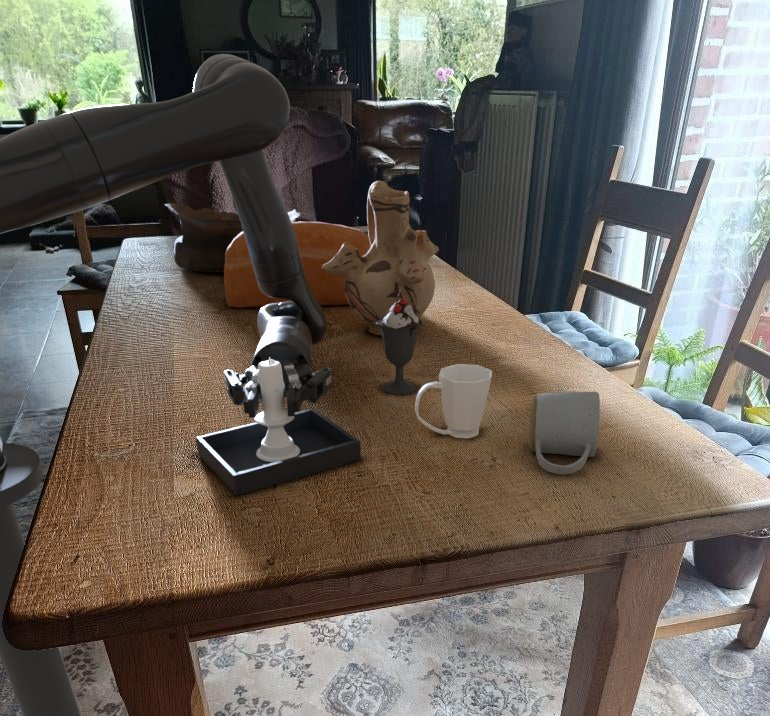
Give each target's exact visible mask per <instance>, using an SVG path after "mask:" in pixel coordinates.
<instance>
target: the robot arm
mask: <svg viewBox="0 0 770 716" xmlns="http://www.w3.org/2000/svg"><path fill="white" fill-rule="evenodd" d="M192 88H193V89H192V92H189V93H187V94H185V95H182V96H179V97H176V98H173V99H169V100H164V101H156V102H147V103H145V102H144V103H121V104H107V105H98V106H92V107H91V106H90V107H85V108H81V109H76V110H73V111H69V112H66V113H63V114H59V115H56V116H54V117H51V118H48V119H44V120H41V121H38V122H35V123H33V124H30V125H28V126H25V127H23V128H19V129H18V130H16V131H13V132H11V133H9V134H8V135H5V136H3V137H1V138H0V235H1V234H4V233H8V232H11V231H16V230H20V229H24V228H27V227H32V226H35V225H38V224H42V223H45V222H49V221H52V220H55V219H59V218H62V217H65V216H68V215H72V214H75V213H78V212H81V211H83V210H87V209H90V208H93V207H95V206H98V205H101V204H104V203H106V202H109V201H111V200H114V199H116V198H119V197H121V196H124V195H125V194H128V193H130V192H134V191H137V190H138V189H141V188H144V187H147V186H149V185H152V184H155V183H158V182H160V181H163V180H165V179H167V178H170V177H173V176H174V175H177V174H179V173H183V172H185V171H187V170H190V169H193V168H196V167H200V166H203V165H204V166H205V165H207V164H212V163H217V162H218V163H219V165H220V167H221V170H222V174H223V175H224V178H225V181H226V183H227V186H228V188H229V191H230V194H231V198H232V200H233V202H234V206H235V209H236V212H237V214H238V215H239V218H240V222H241V225H242V228H243V232H244V235H245V239H246V243H247V246H248V250H249V254H250V258H251V262H252V265H253V269H254V273H255V276H256V280H257V283H258V286H259V289H260V290H261V292H262V293H263V294H265V295H266V296H269V297H273V298H281V299H287V300H291V301H286V302H280V303H279V302H278V303H272V304H268V305H266V306H264V307H261V308H260V309H259V311H258V313H257V318H256V323H257V325H256V326H257V330H258V334H259V337H260V340H259V342H258V344H257V347H256V350H255V353H254V355H253V358H252V360H251V365H250V367H249V368H247V369H246V370H245V372H244V373H242V374H241V373H239V372H235V371H234V369H226V370H224V371H223V377H224V384H225V391H226V393H227V395H228V396H229V398H230V400H231V401H232V403H233V405H235V406H242V405H243V406H242V407H243V412H244V414H248V417H249V418H255V417H256V415H258V411H259V409H260V404H261V403H262V395H261V387H260V385H259V383H258V364H259V363H261V362H263V361H268V360H269V357H270V359H273V360H275V361H278V362H279V363H280V364H281V366H282V374H283V381H284V384H285V388H284V391H283V395H284V398H286V409H287V411H288V416H294V415H295V413H296V412H300V411H302V405H303V404H304V402H305V401H307V403H309V404H317V403H318V402H320V400H321V399H322V398H323V397H324V396H325V395H327V393H328V392H330V390H331V389H332V388H333V384H332V383H333V382H332V381H333V380H332V379H333V378H332V368H331V367H322V368H321V369H320V370H315V371H313V369H312V365H313V351H312V347H313V346H315V345H318V344H320V343H321V342H322V341H324V339H325V337H326V334H327V333H328V332H327V331H328V321H327V317H326V315H325V312H324V309H323V307H322V305H320V304H319V302H318V300H317V298H316V297H315V295H314V293H313V292H312V290H311V288H310V286H309V283H308V281H307V279H306V276H305V273H304V269H303V265H302V261H301V256H300V251H299V246H298V242H297V238H296V234H295V231H294V228H293V225H292V223H291V220H290V218H289V215H288V213H287V212H288V210H287V208H286V206H285V204H284V202H283V200H282V197H281V195H280V193H279V190H278V189H277V186H276V184H275V181H274V178H273V176H272V173H271V170H270V167H269V164H268V160H267V157H266V152H265V150H266V149H267V148H269V147H270V146H272V145H273V144H275V143H276V142H277V141H278V140H279V139H280V137H281V136H282V134H283V133H284V131H285V130H286V127H287V125H288V122H289V120H290V113H291V105H290V104H291V103H290V99H289V96H288V93H287V91H286V89H285V87H284V85H283V84H282V83H281V82H280V81H279V79H277V77H276V76H275V75H274V74H272V73H271V72H269V70H267V69H266V68H264V67H262V66H260V65H258V64H257V63H254V62H252V61H249V60H247V59H245V58H243V57H239V56H237V55H233V54H229V53H220V54H215V55H212V56H210V57H208V58H207V59H206V60H205V61H204V62H203V63H202V64H201V65H200V66H199V68H198V70H197V72H196V74H195V77H194V81H193V87H192ZM244 385H245V386H244ZM2 443H3V440H2V437H1V436H0V474H1V473H2V472H3V471H4V470H5V469H6V467H7V460H6V457H5V456H4V454H3V449H2V445H3V444H2Z"/></svg>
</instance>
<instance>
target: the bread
mask: <svg viewBox="0 0 770 716" xmlns="http://www.w3.org/2000/svg"><path fill="white" fill-rule="evenodd" d="M291 223H292V225H293V228H294V231H295V234H296V238H297V242H298V246H299V251H300V256H301V261H302V265H303V269H304V273H305V276H306V279H307V281H308V283H309V286H310V288H311V290H312V292H313V293H314V295H315V297H316V298H317V300H318V302H319V304H320V305H321V306H339V305H341V306H343V305H344V306H345V305H349V303H348V301H347V298H346V295H345V291H344V277H342V276H337V275H333V274H329V273H325V272H324V271H323V270H322V266H323V265H324V264H325V263H328V262H329V261H330V260H332V259H333V258H334V256H335V255H336V254H337V253H338V252H339V250H340V249H341V247H342V245H343V243H344V242H348V243H350V244H351V245H352V246H353V247H354V248H357V250H358V253H359V255H361V256H364V255H365V254H366V253H367V252H368V250H369V249H370V247H371V245H370V241H369V237H368V236H367V235H366V234H365V233H364V232H365V231H363V230H362V229H360V228H354V227H350V226H346V225H343V224H336V223H329V222H322V221H293V222H291ZM223 280H224V281H223V282H224V292H225V301H226V305H227V306H228V307H230V308H238V309H239V308H241V309H242V308H263V307H264V306H266V305H268V304H272V303H278V302H279V303H280V302H286V301H291V300H287V299H281V298H273V297H269V296H266V295H265V294H263V293H262V292H261V290H260V289H259V286H258V283H257V280H256V276H255V273H254V269H253V265H252V262H251V258H250V254H249V250H248V246H247V243H246V239H245V235H244V232H241V233H240V234H239V235H238V236H236V237H235V238H234V239H233V241H232V242H231V244H230V245H229V246H228V248H227V250H226V253H225V265H224V272H223Z"/></svg>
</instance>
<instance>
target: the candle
mask: <svg viewBox="0 0 770 716" xmlns="http://www.w3.org/2000/svg"><path fill="white" fill-rule="evenodd" d="M258 383H259V385H260V387H261V395H262V402H261V403H262V411H261V412H259V413H257V415H256V417H254V421H255V422H257V423H259V424H261V425H264V426H267V427H268V431H267V434H266V437H265V438H264V439H263V440H262V442H261V447H260V448H259V449H258V450H257V452H256V456H257V457H258V458H259V459H261V460H263V461H266V462H278V461H282V460H285V459H289V458H292V457H296V456H298V455H299V453H300V449H299V447H298V446H296V445H295V444H294V442H293V440H292V438H291V437H289V436H288V435H287V433H286V431H285V430H284V428H283V426H284V425H285V424H287V423H289V422H291V421H292V420H293V419H294V417H295V416H288V411H287V410H286V408H285V407H286V406H285V397H284V395H283V391H284V388H285V384H284V381H283V374H282V366H281V364H280V363H279V362H278V361H275V360H273V359H270V357H269V360H268V361H263V362H261V363H259V364H258Z"/></svg>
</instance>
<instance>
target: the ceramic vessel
mask: <svg viewBox="0 0 770 716" xmlns="http://www.w3.org/2000/svg"><path fill="white" fill-rule="evenodd" d="M410 200H411V199H410V192H409V191H408V190H406V191H405V190H398V189H393V188H392V187H389V185H388V183H386V182H385V181H383V180H376V181H374V182H372V183H371V185H370V186H369V189H368V191H367V201H366V221H367V231H368V235H369V241H370V245H371V247H370V249H369V250H368V252H367V253H366V254H365V255H364V256H361V255H359V253H358V250H357V248H354V247H353V246H352V245H351V244H350V243H348V242H344V243H343V245H342V247H341V249H340V250H339V252H338V253H337V254H336V255H335V256H334V258H333V259H332V260H330V261H329V262H328V263H325V264H324V265H323V266H322V270H323V271H324V272H325V273H329V274H333V275H337V276H342V277H344V291H345V295H346V298H347V301H348V303H349V304H348V305H349V307H350V308H351V310H352V312H353V313H354V314H355V315H356V316H357V318H360V319H362V320H363V321H365V322H367V323H368V332H369V333H371V334H372V335H376V336H381V337H383V336H382V331H381V328H380V326H379V325H377V324H376V322H377V321H378V320H379V319H381V318H382V317H385V316H386V315H387V314H388V313H389V310H390V308H391V307H392V305H393V304H394V303H396V299H397V296H398V294H399V293H398V292H399V291H400V290H401V293H400V296H401V298H402V299H406V301H407V303H408V304H409V305H410V306H411V307H412V308H414V309H415V311H414V314H415V315H417V317H418V318H421V316H423V315H424V313H425V312H426V311H427V309H428V308H429V306H430V304H431V303H432V300H433V298H434V295H435V289H436V281H435V276H434V272H433V269H432V267H431V265H430V264H429V260H430V258H432V257H433V256H434V255H435V254H436V253H438V252H439V251H440V249H439V246H438V245H435V244H434V243H433V242H432V241H431V240H430V238H429V236H428V232H427V230H423V229H418V230H414V229H413V228H412V227H411V224H410V203H411V201H410ZM400 296H398V300H397V302H399V300H400V299H401V298H400Z"/></svg>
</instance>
